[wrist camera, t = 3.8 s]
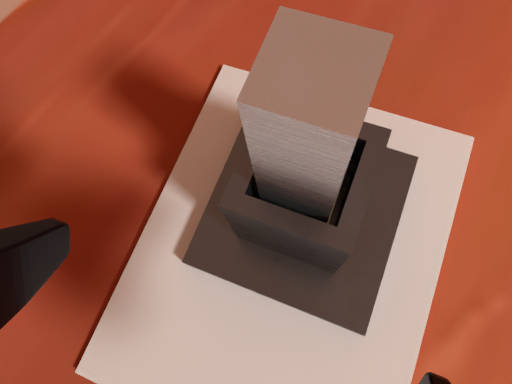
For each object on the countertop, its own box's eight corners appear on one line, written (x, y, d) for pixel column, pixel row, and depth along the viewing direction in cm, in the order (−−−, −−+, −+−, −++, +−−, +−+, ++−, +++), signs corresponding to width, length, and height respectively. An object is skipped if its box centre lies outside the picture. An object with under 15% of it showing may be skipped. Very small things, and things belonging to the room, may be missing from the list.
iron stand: (361, 335, 20) (400, 341, 13) (186, 264, 22) (136, 236, 15) (413, 163, 23) (468, 91, 16) (252, 113, 25) (237, 29, 18)
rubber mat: (373, 516, 18) (375, 520, 18) (78, 371, 21) (74, 372, 21) (471, 140, 23) (474, 137, 23) (224, 68, 26) (223, 64, 26)
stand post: (320, 243, 20) (359, 141, 9) (264, 222, 21) (233, 102, 10) (339, 189, 21) (396, 33, 10) (285, 171, 22) (278, 4, 10)
